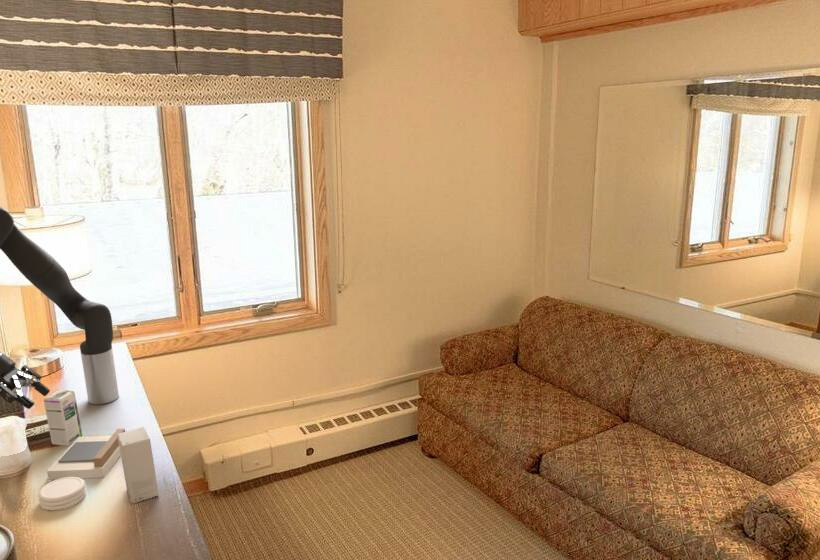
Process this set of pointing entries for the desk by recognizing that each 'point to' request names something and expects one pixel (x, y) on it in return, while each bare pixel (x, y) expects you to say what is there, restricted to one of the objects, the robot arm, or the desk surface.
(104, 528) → the desk surface
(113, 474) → the desk surface
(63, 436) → the syrup box
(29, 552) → the desk surface
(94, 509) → the desk surface
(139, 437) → the skincare box
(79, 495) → the coaster
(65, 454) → the display plinth
